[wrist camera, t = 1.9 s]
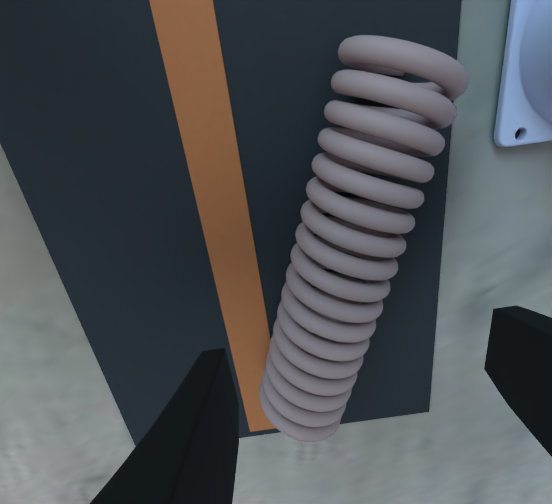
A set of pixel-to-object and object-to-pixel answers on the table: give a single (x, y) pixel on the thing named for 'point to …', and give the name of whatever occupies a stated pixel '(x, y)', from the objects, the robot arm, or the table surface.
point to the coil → (354, 226)
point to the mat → (205, 182)
